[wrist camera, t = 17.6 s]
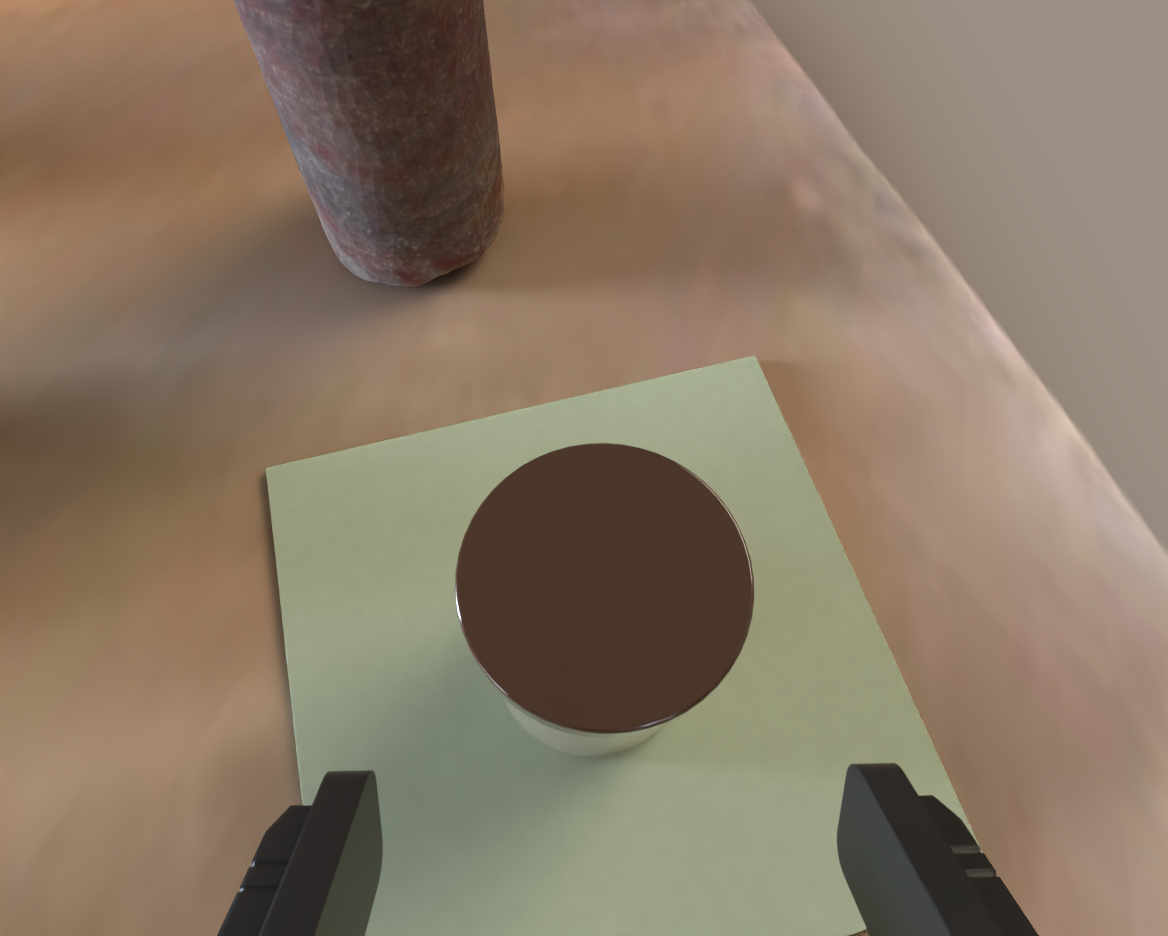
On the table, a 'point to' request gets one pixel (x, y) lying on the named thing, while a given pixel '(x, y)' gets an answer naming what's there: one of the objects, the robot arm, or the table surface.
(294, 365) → the table surface
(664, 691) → the jar
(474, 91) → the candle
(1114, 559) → the table surface
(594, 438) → the desk mat
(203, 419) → the table surface
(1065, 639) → the table surface
